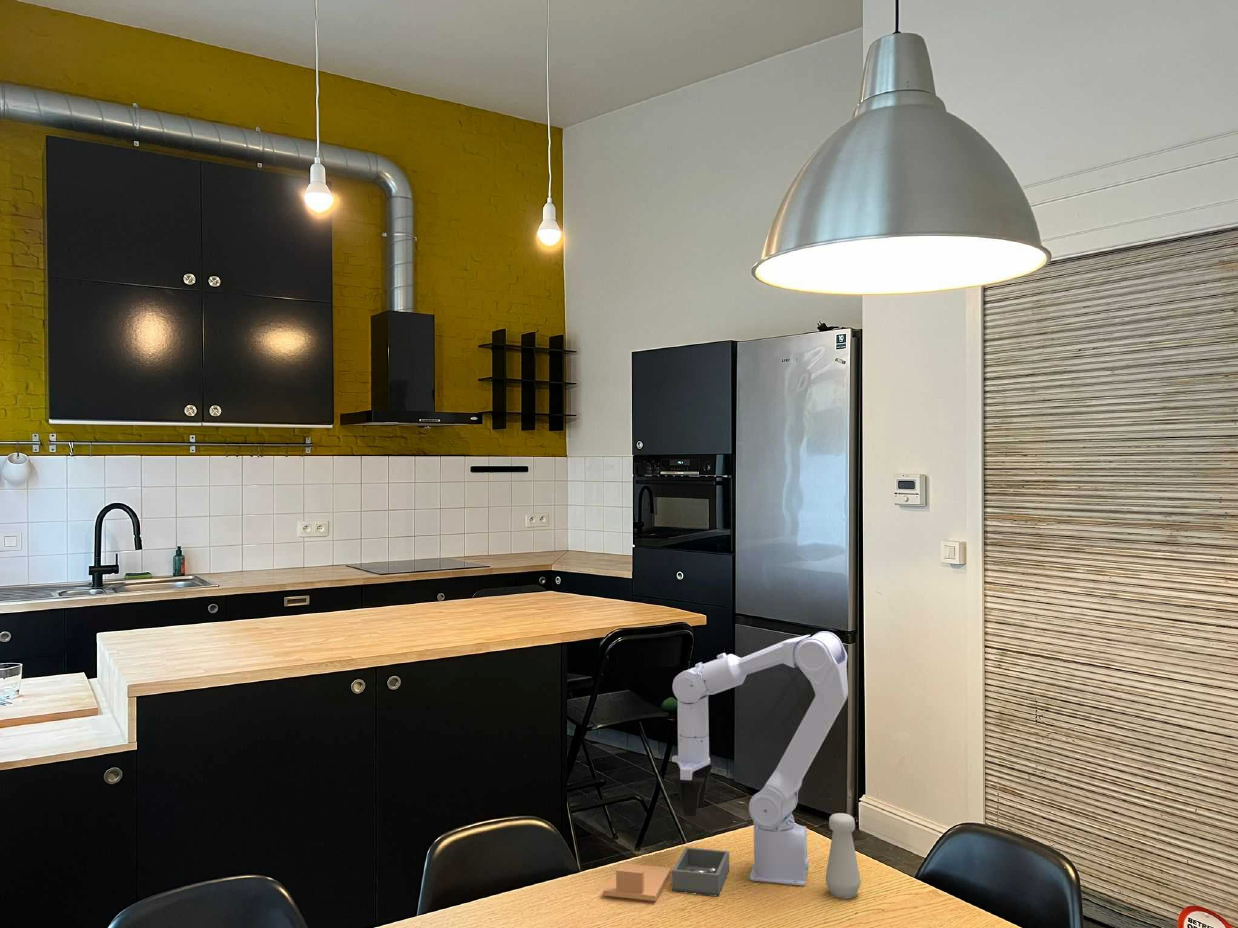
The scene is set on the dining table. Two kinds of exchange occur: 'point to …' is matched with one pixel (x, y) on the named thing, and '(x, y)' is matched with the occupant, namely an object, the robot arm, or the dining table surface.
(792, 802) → the robot arm
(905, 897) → the dining table surface
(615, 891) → the lid
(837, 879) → the salt shaker
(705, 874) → the tub
